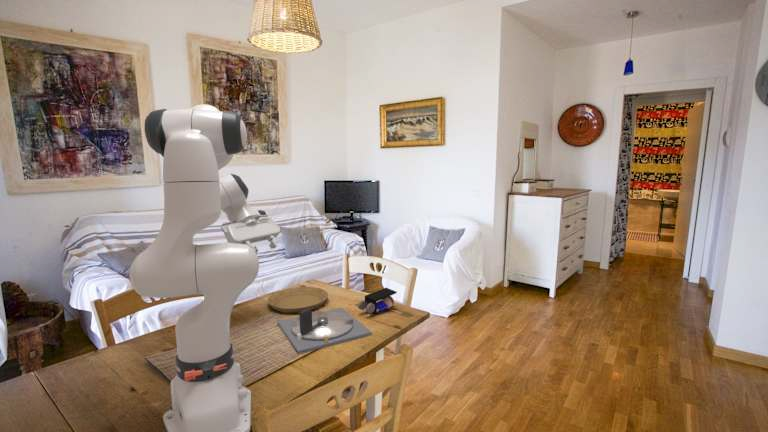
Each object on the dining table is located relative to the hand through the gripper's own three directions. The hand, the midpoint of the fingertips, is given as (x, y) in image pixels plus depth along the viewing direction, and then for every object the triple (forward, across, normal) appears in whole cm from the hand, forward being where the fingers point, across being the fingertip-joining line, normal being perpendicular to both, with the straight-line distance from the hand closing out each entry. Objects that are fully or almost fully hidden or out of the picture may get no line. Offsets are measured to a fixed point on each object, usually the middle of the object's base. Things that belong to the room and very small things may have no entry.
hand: (265, 249), depth 129 cm
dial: (+32, +7, +5) cm, 33 cm away
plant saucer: (+16, +21, +24) cm, 36 cm away
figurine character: (+39, +30, 0) cm, 49 cm away
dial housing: (+33, +7, +6) cm, 34 cm away
